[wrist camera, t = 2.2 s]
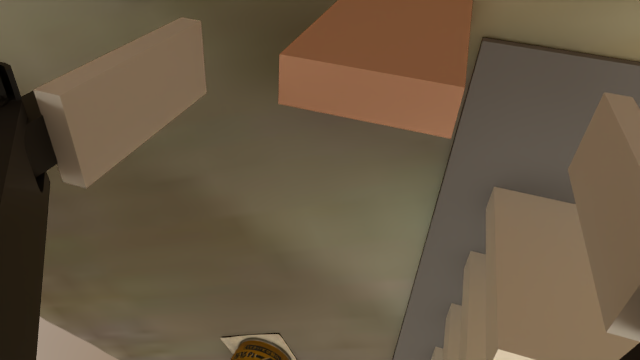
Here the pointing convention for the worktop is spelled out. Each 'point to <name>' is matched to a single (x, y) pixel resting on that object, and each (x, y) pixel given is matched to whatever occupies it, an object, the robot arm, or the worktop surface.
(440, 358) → the domino
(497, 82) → the mat
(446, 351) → the domino
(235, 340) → the condiment
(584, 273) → the domino
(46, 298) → the worktop surface
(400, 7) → the domino
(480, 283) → the domino
